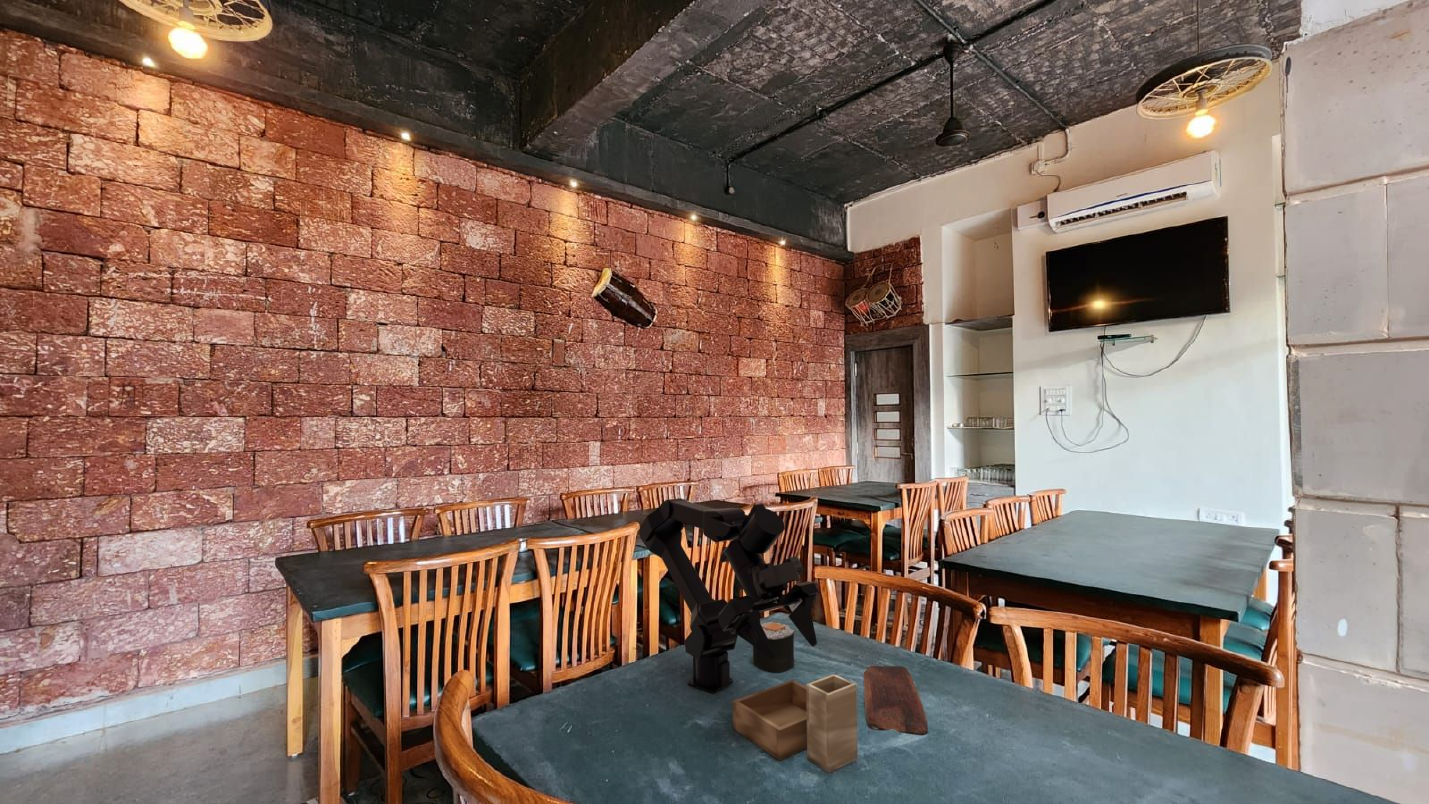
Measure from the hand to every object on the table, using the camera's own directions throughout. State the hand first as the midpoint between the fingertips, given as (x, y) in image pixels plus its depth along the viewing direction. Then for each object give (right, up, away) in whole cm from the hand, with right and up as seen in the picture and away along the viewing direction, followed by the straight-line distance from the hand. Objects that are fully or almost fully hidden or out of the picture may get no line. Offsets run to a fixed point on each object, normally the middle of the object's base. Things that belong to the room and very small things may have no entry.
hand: (794, 651), depth 95 cm
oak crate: (-1, -13, +1) cm, 14 cm away
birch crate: (+5, -13, -7) cm, 15 cm away
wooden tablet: (+20, -14, +13) cm, 28 cm away
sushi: (-1, -15, +28) cm, 31 cm away
